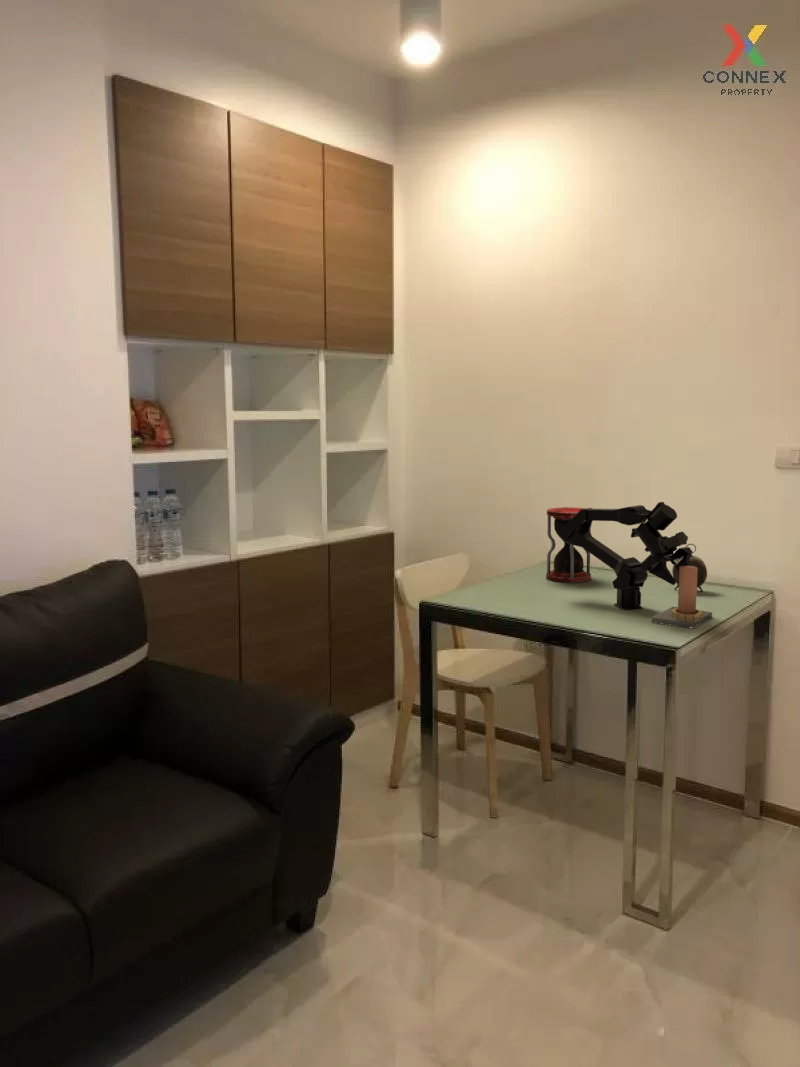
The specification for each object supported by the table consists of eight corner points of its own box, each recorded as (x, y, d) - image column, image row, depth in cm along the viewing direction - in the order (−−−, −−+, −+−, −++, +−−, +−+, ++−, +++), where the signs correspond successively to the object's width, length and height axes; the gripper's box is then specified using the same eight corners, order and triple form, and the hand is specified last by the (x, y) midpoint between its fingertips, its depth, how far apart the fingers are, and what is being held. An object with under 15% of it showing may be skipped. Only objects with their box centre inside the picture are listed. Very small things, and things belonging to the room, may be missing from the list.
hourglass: (542, 574, 327) (543, 507, 324) (586, 573, 327) (587, 506, 323) (549, 583, 311) (550, 513, 308) (595, 582, 311) (596, 512, 307)
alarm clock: (705, 590, 297) (707, 542, 294) (706, 594, 291) (708, 545, 289) (671, 589, 299) (673, 541, 297) (672, 592, 294) (673, 544, 292)
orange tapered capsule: (677, 615, 257) (679, 568, 255) (677, 611, 262) (679, 565, 260) (695, 617, 256) (697, 569, 253) (695, 613, 260) (697, 566, 258)
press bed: (692, 628, 249) (692, 619, 248) (651, 622, 256) (651, 614, 256) (711, 617, 261) (712, 608, 261) (672, 611, 269) (672, 603, 268)
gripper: (651, 526, 254) (683, 570, 247) (688, 520, 265) (720, 561, 259) (627, 549, 261) (658, 592, 254) (665, 542, 273) (695, 583, 266)
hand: (683, 581), depth 258 cm, fingers open, 9 cm apart
